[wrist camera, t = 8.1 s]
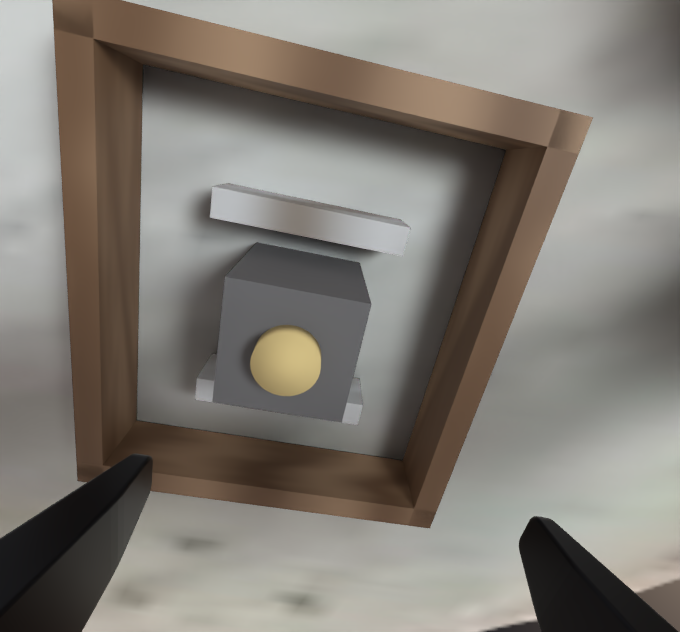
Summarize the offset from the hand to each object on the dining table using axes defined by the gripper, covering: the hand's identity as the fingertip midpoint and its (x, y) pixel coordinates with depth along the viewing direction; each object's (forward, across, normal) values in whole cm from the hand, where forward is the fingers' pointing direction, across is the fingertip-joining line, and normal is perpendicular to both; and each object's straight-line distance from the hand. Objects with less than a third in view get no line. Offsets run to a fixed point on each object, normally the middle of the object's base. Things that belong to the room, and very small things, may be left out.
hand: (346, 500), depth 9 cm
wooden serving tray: (+12, +2, 0) cm, 12 cm away
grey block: (+12, +2, 0) cm, 12 cm away
